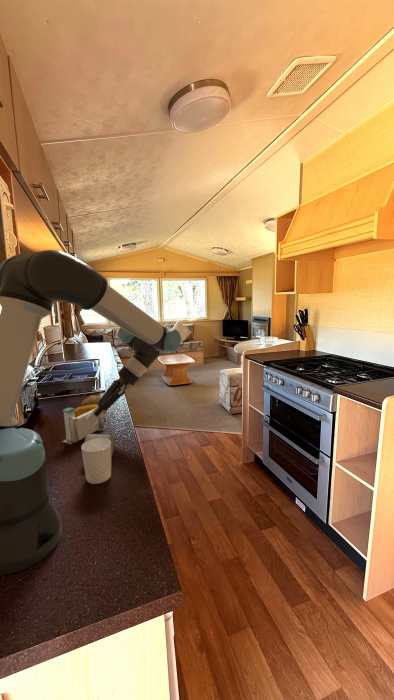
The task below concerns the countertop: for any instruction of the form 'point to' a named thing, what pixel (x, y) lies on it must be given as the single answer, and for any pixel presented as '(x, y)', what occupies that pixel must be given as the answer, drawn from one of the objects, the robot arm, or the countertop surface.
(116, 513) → the countertop surface
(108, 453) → the white cup
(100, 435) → the ceramic mug
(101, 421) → the gate posts
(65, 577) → the countertop surface
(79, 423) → the gate
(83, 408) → the potato
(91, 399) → the bread roll
